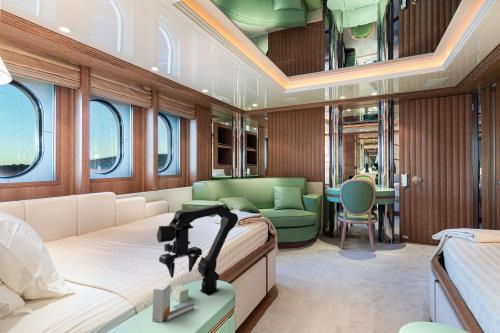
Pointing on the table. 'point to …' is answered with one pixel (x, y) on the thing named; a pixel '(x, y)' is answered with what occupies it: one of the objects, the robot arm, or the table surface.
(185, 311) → the rail
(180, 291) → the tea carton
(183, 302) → the facing pad
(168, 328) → the table surface
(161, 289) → the skincare box
